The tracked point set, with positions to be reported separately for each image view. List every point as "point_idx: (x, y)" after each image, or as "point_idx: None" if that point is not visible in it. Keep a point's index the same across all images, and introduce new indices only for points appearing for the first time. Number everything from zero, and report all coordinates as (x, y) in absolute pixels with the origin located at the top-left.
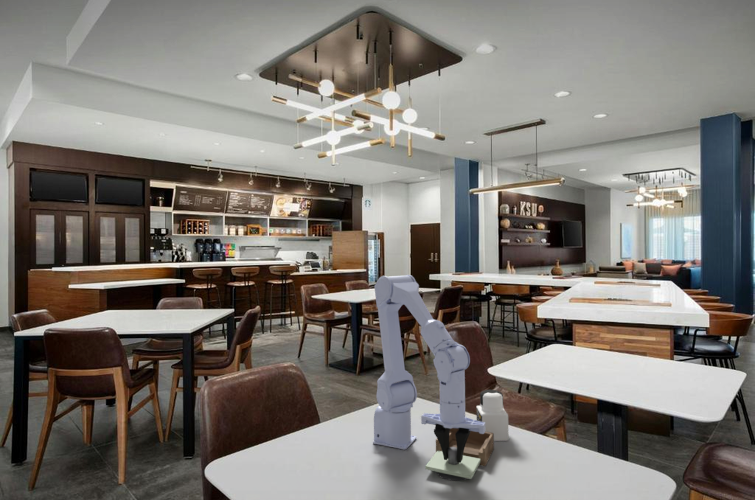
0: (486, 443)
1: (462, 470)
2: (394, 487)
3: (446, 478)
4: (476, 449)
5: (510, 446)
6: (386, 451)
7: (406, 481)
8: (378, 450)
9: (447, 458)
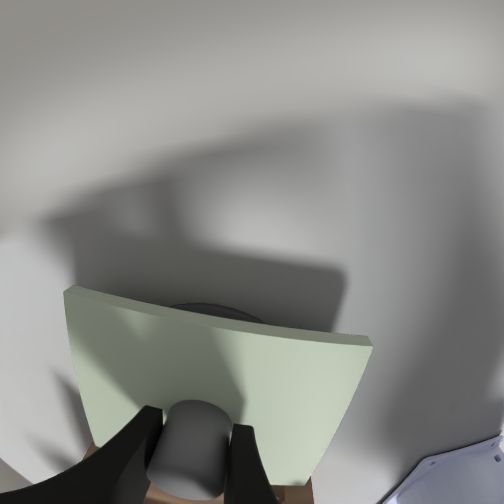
0: None
1: (121, 346)
2: (479, 155)
3: (227, 309)
4: (160, 499)
5: None
6: (481, 422)
7: (444, 227)
8: (499, 414)
9: (231, 436)
